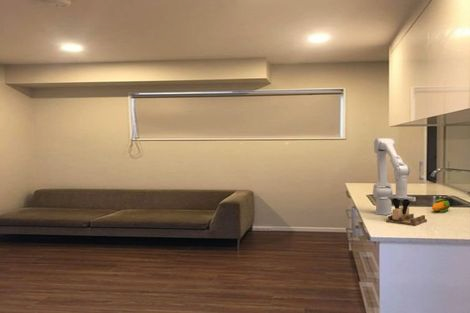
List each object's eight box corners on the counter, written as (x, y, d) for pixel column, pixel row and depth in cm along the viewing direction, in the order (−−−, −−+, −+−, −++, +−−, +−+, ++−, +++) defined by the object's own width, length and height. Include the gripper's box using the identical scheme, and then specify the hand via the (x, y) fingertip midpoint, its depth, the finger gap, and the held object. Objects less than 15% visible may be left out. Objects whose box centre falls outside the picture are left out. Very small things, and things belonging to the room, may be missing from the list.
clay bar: (403, 215, 237) (403, 206, 237) (409, 216, 235) (409, 207, 235) (392, 219, 227) (392, 209, 227) (398, 219, 225) (398, 210, 225)
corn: (451, 197, 263) (440, 201, 249) (452, 210, 263) (441, 214, 249) (439, 197, 268) (427, 201, 254) (439, 209, 268) (428, 214, 254)
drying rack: (399, 217, 240) (399, 212, 240) (426, 221, 229) (426, 215, 229) (386, 222, 228) (386, 216, 228) (414, 226, 218) (414, 219, 218)
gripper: (384, 187, 232) (384, 212, 233) (411, 189, 222) (411, 216, 223) (390, 186, 237) (390, 211, 238) (417, 188, 227) (417, 214, 228)
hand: (401, 213), depth 231 cm, fingers closed on clay bar, 3 cm apart
